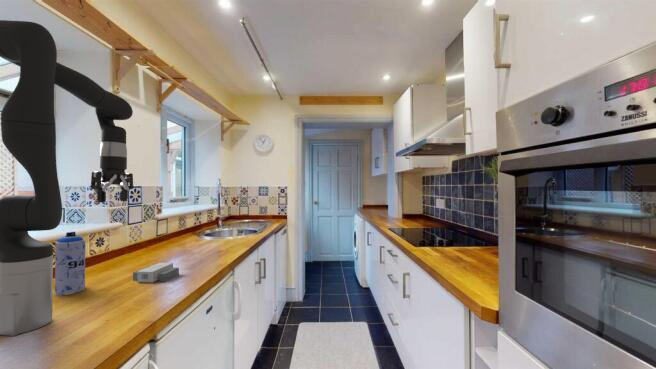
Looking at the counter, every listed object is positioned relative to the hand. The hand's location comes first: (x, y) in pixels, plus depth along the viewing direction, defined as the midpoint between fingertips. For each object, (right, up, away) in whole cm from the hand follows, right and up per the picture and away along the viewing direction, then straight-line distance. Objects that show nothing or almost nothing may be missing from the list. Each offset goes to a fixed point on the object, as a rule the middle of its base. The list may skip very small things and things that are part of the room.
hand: (113, 201), depth 97 cm
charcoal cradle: (+9, -30, +10) cm, 33 cm away
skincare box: (+8, -28, +4) cm, 30 cm away
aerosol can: (-12, -30, -4) cm, 33 cm away
